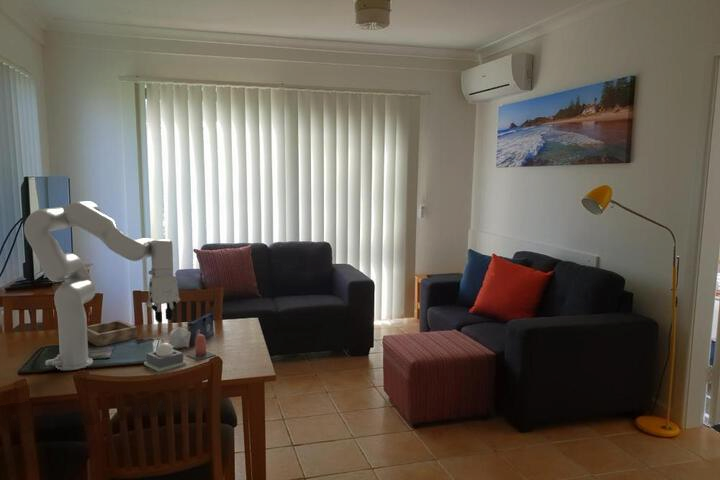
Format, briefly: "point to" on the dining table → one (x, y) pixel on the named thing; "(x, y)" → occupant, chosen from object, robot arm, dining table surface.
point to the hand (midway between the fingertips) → (163, 320)
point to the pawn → (200, 345)
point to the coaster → (202, 356)
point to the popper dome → (164, 350)
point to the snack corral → (110, 332)
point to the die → (179, 337)
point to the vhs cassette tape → (201, 328)
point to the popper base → (164, 361)
